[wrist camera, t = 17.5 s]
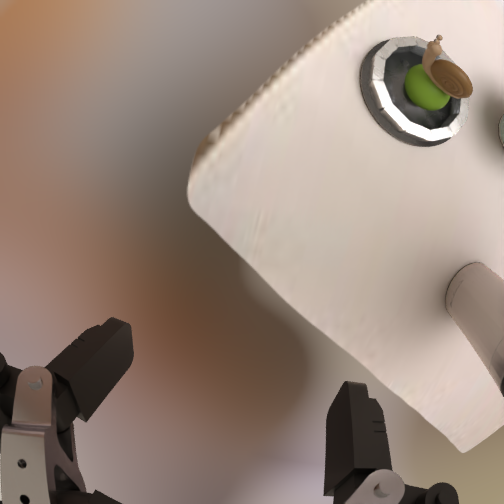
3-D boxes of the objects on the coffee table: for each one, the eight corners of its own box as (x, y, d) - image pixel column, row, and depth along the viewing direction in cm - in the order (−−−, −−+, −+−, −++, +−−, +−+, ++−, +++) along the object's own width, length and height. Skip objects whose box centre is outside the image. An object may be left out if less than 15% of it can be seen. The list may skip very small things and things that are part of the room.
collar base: (462, 66, 22) (474, 61, 19) (453, 162, 27) (466, 163, 24) (366, 26, 23) (371, 15, 20) (352, 126, 28) (357, 123, 25)
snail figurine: (404, 57, 23) (447, 20, 12) (444, 92, 23) (499, 73, 12) (383, 86, 25) (424, 54, 14) (425, 122, 25) (481, 112, 14)
